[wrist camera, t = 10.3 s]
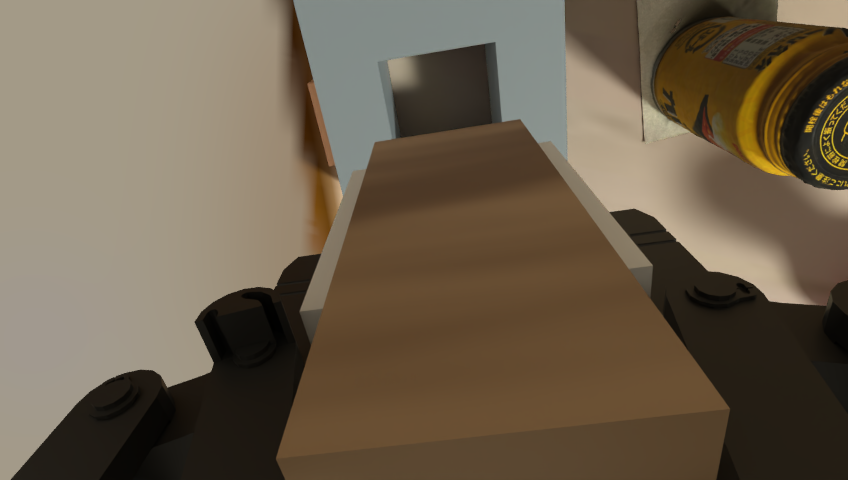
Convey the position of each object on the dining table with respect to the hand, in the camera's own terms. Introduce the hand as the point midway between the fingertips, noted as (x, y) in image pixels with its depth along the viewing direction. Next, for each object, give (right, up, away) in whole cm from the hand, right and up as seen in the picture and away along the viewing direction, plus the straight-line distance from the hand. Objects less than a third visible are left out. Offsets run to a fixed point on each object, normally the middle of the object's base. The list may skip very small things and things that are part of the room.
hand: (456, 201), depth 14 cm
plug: (0, 0, 0) cm, 0 cm away
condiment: (+15, +9, +14) cm, 23 cm away
